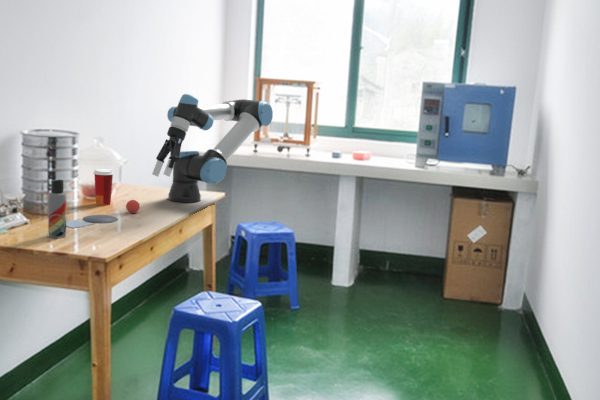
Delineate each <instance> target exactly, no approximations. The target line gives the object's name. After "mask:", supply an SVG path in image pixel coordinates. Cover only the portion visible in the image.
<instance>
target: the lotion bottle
mask: <svg viewBox="0 0 600 400" xmlns="http://www.w3.org/2000/svg"><path fill="white" fill-rule="evenodd" d="M50 191H51V192H49V193H48V197H47V198H48V203H47V204H48V205H47V206H48V208H47V209H48V211H47V213H48V215H47V216H48V217H47V218H48V219H47V220H48V222H47V224H48V227H47V228H48V229H47V230H48V237H49V238H53V239H56V238H57V239H61V238H65V237H66V236H67V226H66V222H67V193H66V192H64V180H63V179H55V180H51V190H50Z"/></svg>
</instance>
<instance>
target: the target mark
mask: <svg viewBox="0 0 600 400" xmlns="http://www.w3.org/2000/svg"><path fill="white" fill-rule="evenodd" d="M118 220H119V219H118V217H116V216H113V215H110V214H109V215H108V214H91V215H87V216H84V217H83V218H82V221H84V222H88V223H92V224H111V223H114V222H117V221H118Z"/></svg>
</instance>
